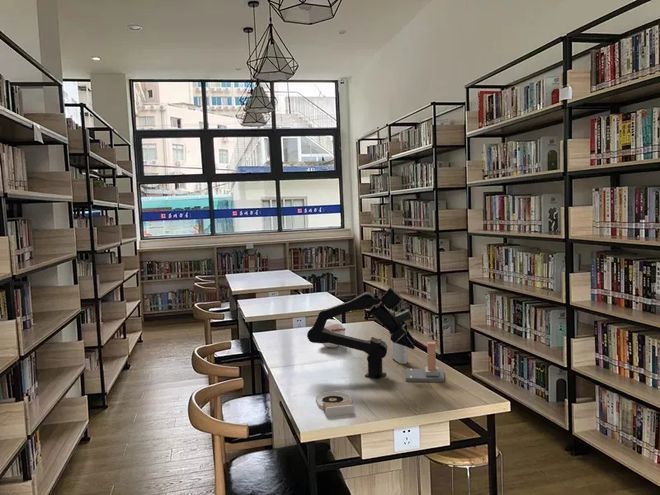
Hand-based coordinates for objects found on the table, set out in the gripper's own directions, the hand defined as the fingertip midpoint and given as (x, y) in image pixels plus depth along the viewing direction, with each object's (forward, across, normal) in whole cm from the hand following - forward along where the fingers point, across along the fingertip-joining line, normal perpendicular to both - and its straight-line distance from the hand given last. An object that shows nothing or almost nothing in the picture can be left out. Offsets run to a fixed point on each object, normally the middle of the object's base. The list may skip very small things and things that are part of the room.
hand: (414, 345), depth 208 cm
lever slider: (+12, 0, +3) cm, 13 cm away
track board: (+12, 0, +6) cm, 13 cm away
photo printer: (+4, +21, +14) cm, 26 cm away
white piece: (-20, +44, +38) cm, 61 cm away
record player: (-10, -32, +28) cm, 44 cm away
